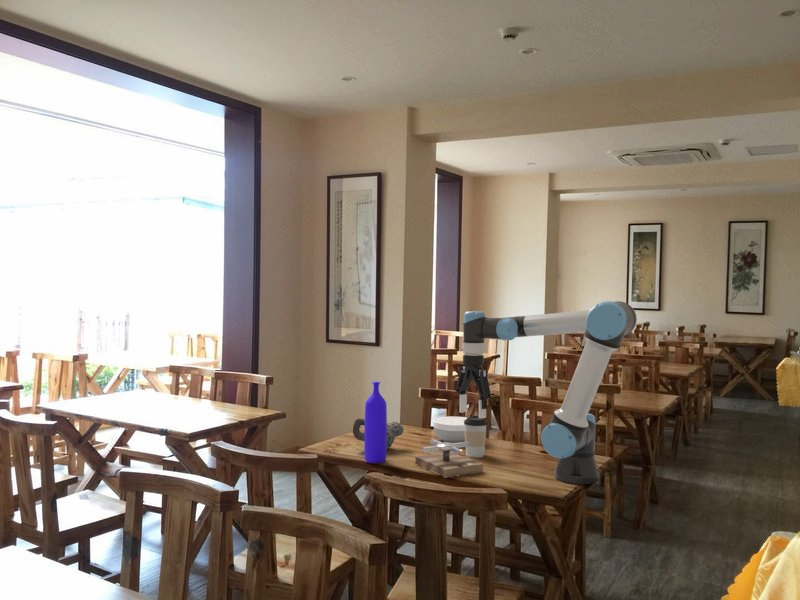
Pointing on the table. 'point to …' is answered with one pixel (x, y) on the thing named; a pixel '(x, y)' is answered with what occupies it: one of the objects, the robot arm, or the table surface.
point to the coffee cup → (475, 436)
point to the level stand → (449, 464)
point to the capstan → (447, 447)
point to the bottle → (375, 427)
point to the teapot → (392, 431)
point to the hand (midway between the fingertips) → (472, 415)
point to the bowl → (450, 429)
